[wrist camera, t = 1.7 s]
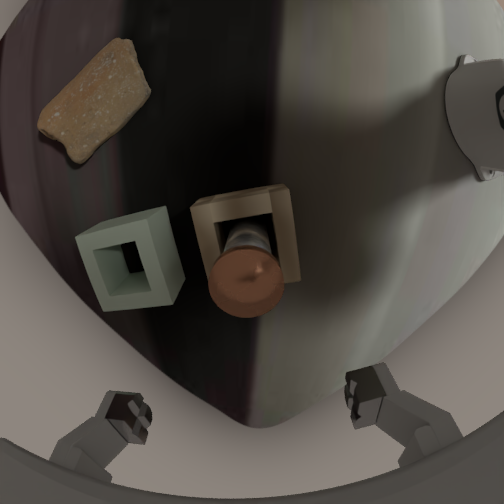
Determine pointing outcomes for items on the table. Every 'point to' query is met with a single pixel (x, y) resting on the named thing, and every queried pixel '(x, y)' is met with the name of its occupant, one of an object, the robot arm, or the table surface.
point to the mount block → (244, 205)
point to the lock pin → (246, 271)
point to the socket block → (115, 268)
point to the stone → (96, 101)
